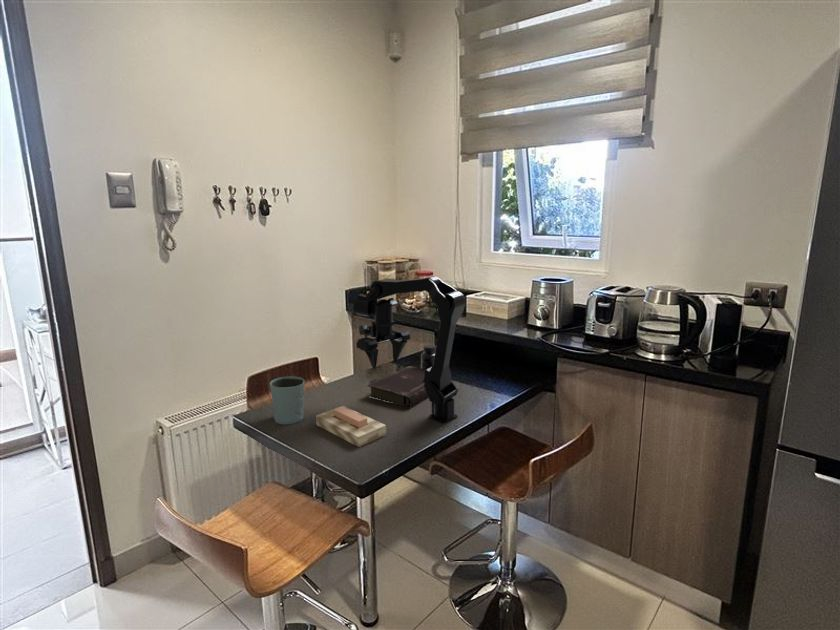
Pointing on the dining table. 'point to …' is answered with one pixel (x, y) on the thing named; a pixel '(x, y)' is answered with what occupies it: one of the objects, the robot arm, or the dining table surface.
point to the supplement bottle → (428, 356)
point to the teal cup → (287, 399)
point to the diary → (401, 387)
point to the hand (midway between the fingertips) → (384, 364)
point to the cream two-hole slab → (351, 428)
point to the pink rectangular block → (350, 417)
